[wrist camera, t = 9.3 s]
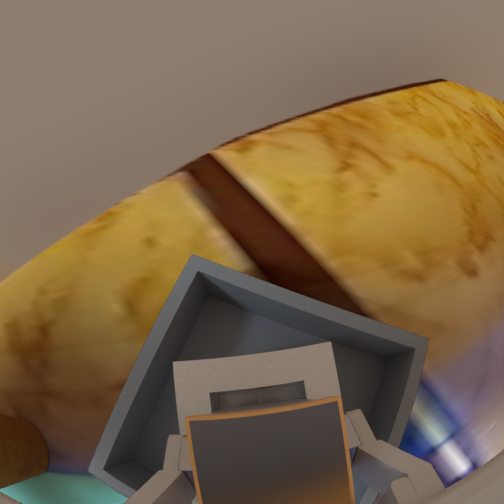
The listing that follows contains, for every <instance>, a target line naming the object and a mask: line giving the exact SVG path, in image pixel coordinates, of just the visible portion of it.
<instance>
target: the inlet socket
mask: <svg viewBox="0 0 504 504" xmlns="http://www.w3.org/2000/svg"><path fill="white" fill-rule="evenodd" d="M173 373H174V384H175V395H176V404H177V413H178V422H179V429H180V435H187V432H186V425H185V417H187V416H191V415H201V414H211V413H213V412H216V411H219V410H221V409H224V408H230V407H240V406H248V405H257V404H264V403H271V402H277V401H284V400H290V399H295V398H300V399H314V400H316V399H320V398H325V397H329V396H341V393H340V387H339V382H338V376H337V371H336V365H335V360H334V355H333V350H332V345H331V341H330V342H325V343H320V344H315V345H309V346H304V347H298V348H292V349H286V350H279V351H273V352H266V353H258V354H251V355H243V356H234V357H225V358H215V359H203V360H191V361H175V362H173ZM341 400H342V399H341ZM342 406H343V405H342ZM343 412H344V411H343ZM192 504H199V503H198V498H197V496H196V497H195V498H194V500H193V501H192Z"/></svg>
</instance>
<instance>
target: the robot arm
mask: <svg viewBox="0 0 504 504" xmlns="http://www.w3.org/2000/svg"><path fill="white" fill-rule="evenodd" d="M344 419H345V425H346V432H347V439H348V446H349V453H350V461H351V469H352V474H353V475H354V476H356V477H357V478H358V479H360V480H361V481H363V482H364V483H365V484H367V485H368V486H370V487H371V488H373V489H374V490H376V491H377V492H378V493H380V494H381V495H383V497H382V499H381V500H380V502H379V503H378V504H504V450H502V451H501V452H500V453H499V454H497V455H496V456H495V457H493V458H492V459H491V460H489V461H488V462H487V463H485V464H484V465H483V466H481V467H480V468H478V469H477V470H475V471H474V472H472V473H471V474H469V475H468V476H466V477H465V478H463V479H462V480H460V481H458V482H457V483H455V484H454V485H452V486H450V487H448V488H447V489H445V488H444V486H443V484H442V482H441V481H440V479H439V477H438V475H437V474H436V472H435V470H434V469H433V467H432V465H431V464H430V463H428V462H426V461H424V460H421V459H419V458H417V457H415V456H413V455H411V454H409V453H406V452H404V451H402V450H400V449H398V448H396V447H394V446H392V445H390V444H388V443H386V442H384V441H383V440H381V439H380V440H376V438H375V436H374V434H373V432H372V430H371V428H370V426H369V425H368V423H367V421H366V419H365V417H364V415H363V413H362V411H361V410H360V409H356V410H353V411H349V412H346V413H345V412H344ZM196 496H197V493H196V488H195V482H194V477H193V471H192V465H191V459H190V453H189V446H188V439H187V435H169V437H168V440H167V446H166V453H165V459H164V465H163V470H159V471H158V472H157V473H156V474H155V475H153V476H152V477H151V478H150V479H149V480H148V481H147V482H146V483H145V484H144V485H143V486H142V487H141V488H140V489H139V490H138V491H137V492H136V493H135V494H133V495H132V496H131V497H130V498H129V499H128V500H127V501H126V502H125V503H124V504H191V502H192V501H193V500H194V498H195V497H196ZM0 504H22V503H20V502H18V501H16V500H14V499H12V498H10V497H9V496H7V495H5V494H3V493H2V492H0Z"/></svg>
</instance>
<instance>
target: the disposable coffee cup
mask: <svg viewBox="0 0 504 504" xmlns="http://www.w3.org/2000/svg"><path fill="white" fill-rule="evenodd" d="M48 464H49V454H48V449H47V446H46V443H45V441H44V439H43V437H42V435H41V434H40V432H39V431H38V430H37V428H36V427H35V426H34V425H33V424H31V423H30V422H28V421H26V420H23V419H18V418H15V417H11V416H7V415H4V414H0V489H1V488H4V487H7V486H10V485H13V484H16V483H19V482H21V481H24V480H27V479H30V478H31V477H35V476H37V475H40V474H43V473H44V472H45V471H46V470H47V468H48Z"/></svg>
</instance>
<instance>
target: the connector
mask: <svg viewBox="0 0 504 504" xmlns="http://www.w3.org/2000/svg"><path fill="white" fill-rule="evenodd" d="M185 425H186V432H187V439H188V446H189V453H190V459H191V465H192V471H193V477H194V482H195V488H196V493H197V498H198V503H199V504H355V496H354V486H353V477H352V469H351V461H350V453H349V446H348V439H347V432H346V425H345V419H344V412H343V406H342V400H341V396H329V397H325V398H320V399H316V400H314V399H300V398H295V399H290V400H284V401H277V402H271V403H264V404H257V405H248V406H240V407H230V408H224V409H221V410H219V411H216V412H213V413H211V414H201V415H191V416H187V417H185Z"/></svg>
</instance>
